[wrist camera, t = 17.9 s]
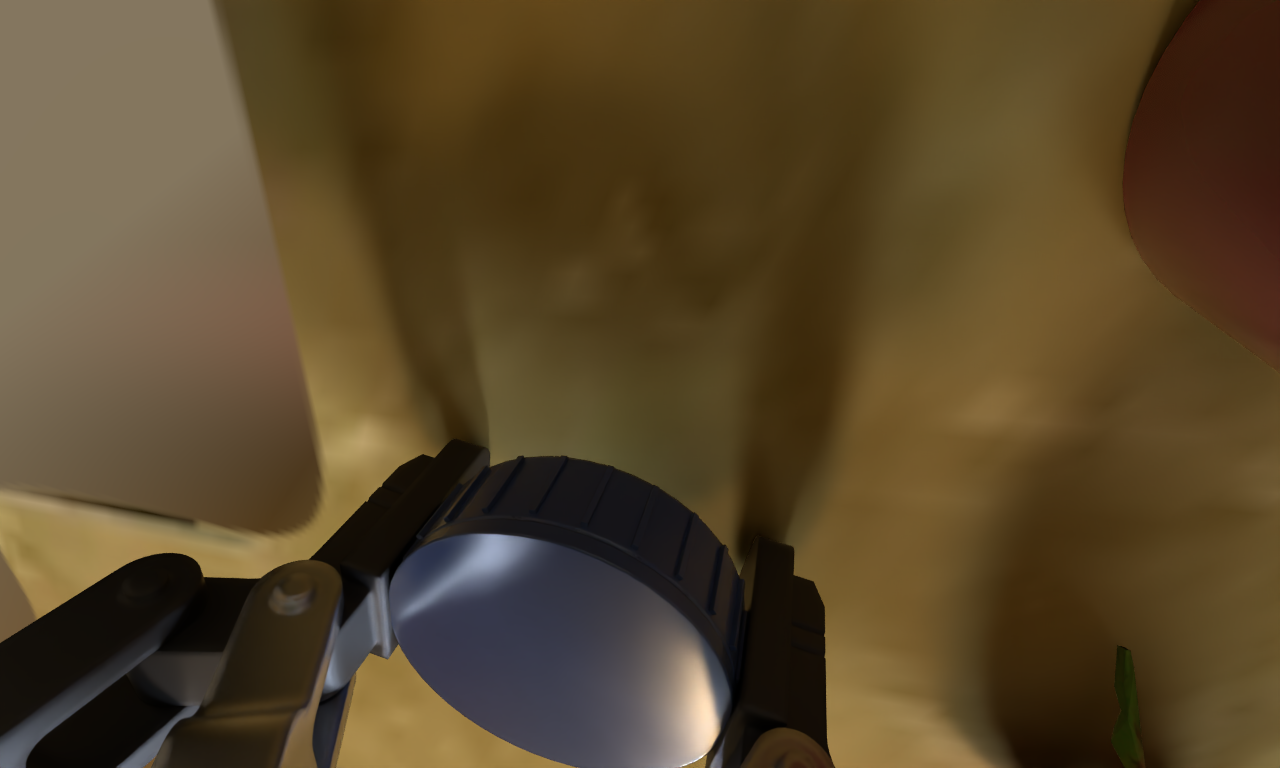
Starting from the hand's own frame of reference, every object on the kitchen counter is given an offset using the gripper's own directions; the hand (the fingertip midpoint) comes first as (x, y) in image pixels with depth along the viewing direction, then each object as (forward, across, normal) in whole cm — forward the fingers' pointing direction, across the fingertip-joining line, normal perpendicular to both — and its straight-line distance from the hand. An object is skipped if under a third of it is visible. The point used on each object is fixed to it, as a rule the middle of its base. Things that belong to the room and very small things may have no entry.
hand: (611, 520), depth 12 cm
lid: (-3, 0, 0) cm, 3 cm away
